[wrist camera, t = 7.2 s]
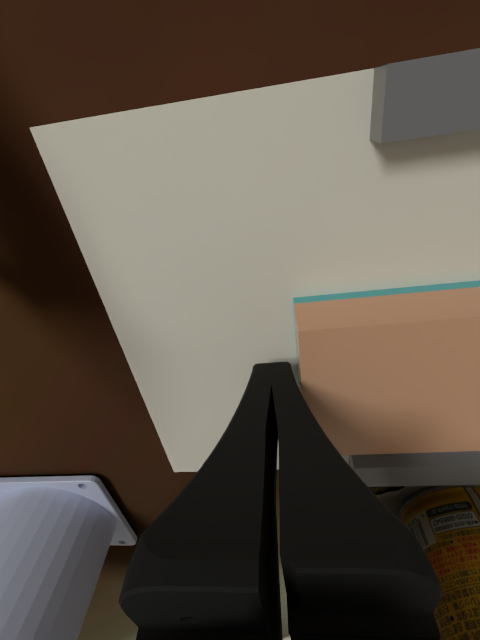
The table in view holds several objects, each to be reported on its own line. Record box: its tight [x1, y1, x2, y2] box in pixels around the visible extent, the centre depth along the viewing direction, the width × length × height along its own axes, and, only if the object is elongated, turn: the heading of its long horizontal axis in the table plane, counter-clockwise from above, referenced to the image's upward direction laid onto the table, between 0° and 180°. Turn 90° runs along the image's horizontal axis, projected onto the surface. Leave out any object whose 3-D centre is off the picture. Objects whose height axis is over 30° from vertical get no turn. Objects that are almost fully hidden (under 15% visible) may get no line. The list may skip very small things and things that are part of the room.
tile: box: [293, 280, 480, 455], centre depth 12 cm, size 2×6×7 cm
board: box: [30, 48, 480, 487], centre depth 12 cm, size 18×16×2 cm
